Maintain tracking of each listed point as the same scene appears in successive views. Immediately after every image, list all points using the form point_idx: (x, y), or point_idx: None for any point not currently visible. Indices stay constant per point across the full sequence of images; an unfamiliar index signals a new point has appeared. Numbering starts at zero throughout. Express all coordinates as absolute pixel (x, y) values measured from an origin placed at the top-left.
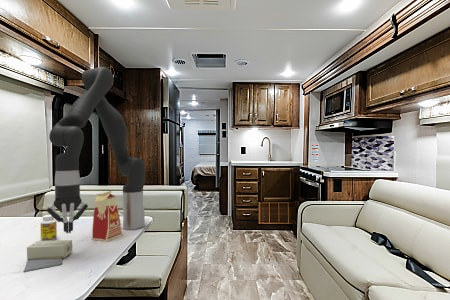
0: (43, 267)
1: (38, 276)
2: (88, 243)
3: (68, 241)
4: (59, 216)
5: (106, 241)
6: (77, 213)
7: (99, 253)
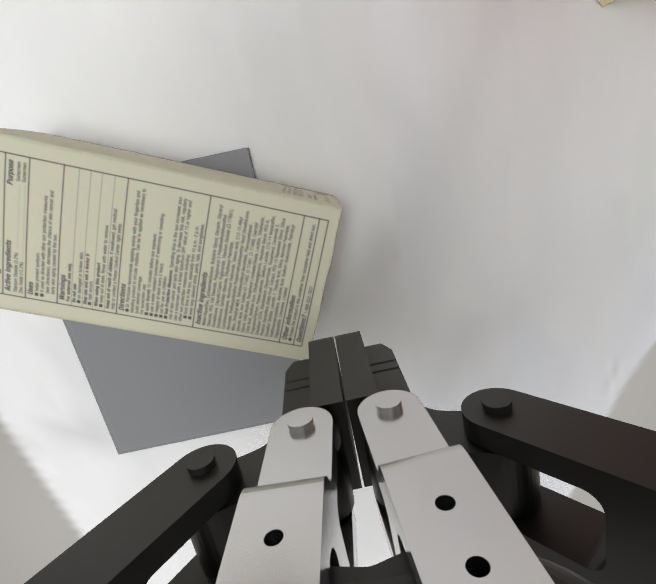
0: (216, 432)
1: None
2: None
3: (318, 256)
4: (200, 523)
5: (607, 3)
6: (547, 467)
7: (531, 291)
